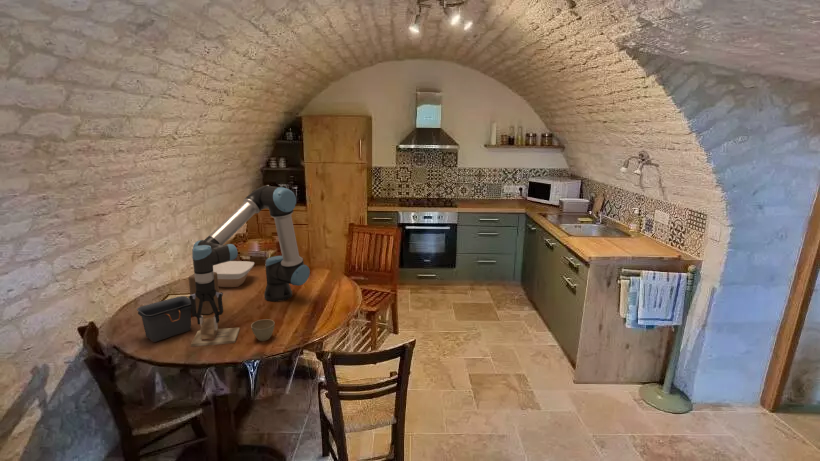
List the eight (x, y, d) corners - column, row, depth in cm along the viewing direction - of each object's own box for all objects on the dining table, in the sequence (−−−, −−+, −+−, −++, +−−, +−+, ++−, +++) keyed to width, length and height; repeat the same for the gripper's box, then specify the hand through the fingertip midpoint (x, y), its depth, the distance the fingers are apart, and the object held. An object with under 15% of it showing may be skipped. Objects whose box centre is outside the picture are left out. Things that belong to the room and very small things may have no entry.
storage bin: (186, 321, 211) (183, 294, 207) (201, 331, 202) (198, 302, 198) (138, 337, 194) (133, 308, 191) (153, 348, 185) (148, 317, 182)
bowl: (244, 291, 250) (243, 274, 248) (202, 290, 251) (200, 273, 248) (258, 277, 274) (257, 261, 271) (220, 276, 274) (218, 260, 271)
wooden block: (208, 315, 218) (205, 278, 213) (191, 313, 220) (187, 276, 215) (221, 307, 228) (217, 271, 223) (204, 305, 230) (200, 270, 225)
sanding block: (217, 330, 199) (216, 317, 198) (213, 339, 191) (212, 326, 189) (206, 331, 198) (205, 318, 197) (201, 340, 190) (200, 327, 188)
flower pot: (255, 333, 200) (254, 319, 198) (277, 333, 201) (276, 318, 199) (249, 344, 190) (248, 329, 189) (272, 343, 191) (271, 328, 190)
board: (239, 329, 204) (239, 327, 203) (235, 342, 191) (234, 340, 191) (198, 332, 200) (198, 330, 199) (191, 346, 187) (190, 344, 187)
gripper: (228, 276, 194) (232, 324, 199) (184, 279, 190) (189, 327, 195) (225, 282, 187) (229, 331, 192) (179, 285, 183) (185, 335, 188)
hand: (209, 329), depth 194 cm, fingers closed on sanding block, 5 cm apart
